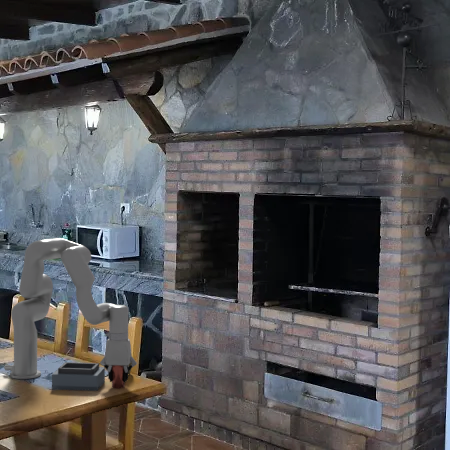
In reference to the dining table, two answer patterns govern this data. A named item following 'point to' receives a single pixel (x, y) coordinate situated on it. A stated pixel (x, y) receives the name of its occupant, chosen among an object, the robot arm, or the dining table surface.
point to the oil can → (118, 377)
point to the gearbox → (78, 376)
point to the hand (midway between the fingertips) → (118, 380)
